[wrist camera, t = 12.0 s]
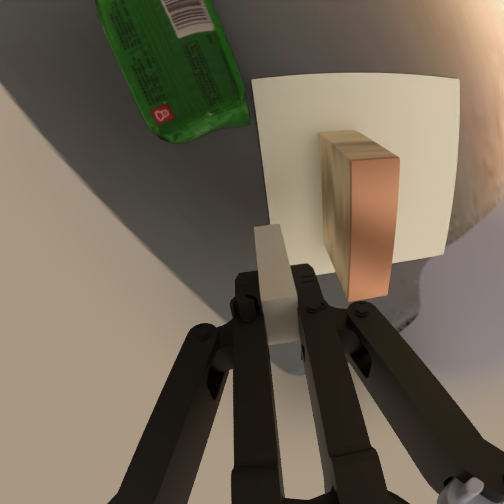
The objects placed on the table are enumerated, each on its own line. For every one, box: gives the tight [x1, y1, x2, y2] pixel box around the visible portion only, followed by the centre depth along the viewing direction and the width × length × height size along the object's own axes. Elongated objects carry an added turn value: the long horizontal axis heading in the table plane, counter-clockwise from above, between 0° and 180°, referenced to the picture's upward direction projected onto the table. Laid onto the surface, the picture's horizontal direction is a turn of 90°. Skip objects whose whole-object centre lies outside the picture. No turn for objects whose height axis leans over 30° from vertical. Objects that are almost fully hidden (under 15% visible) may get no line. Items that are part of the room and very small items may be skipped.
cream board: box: [251, 73, 460, 275], centre depth 26 cm, size 18×18×1 cm
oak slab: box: [318, 130, 400, 302], centre depth 23 cm, size 10×3×8 cm, turn 8°
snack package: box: [95, 0, 250, 144], centre depth 17 cm, size 7×16×5 cm, turn 20°
